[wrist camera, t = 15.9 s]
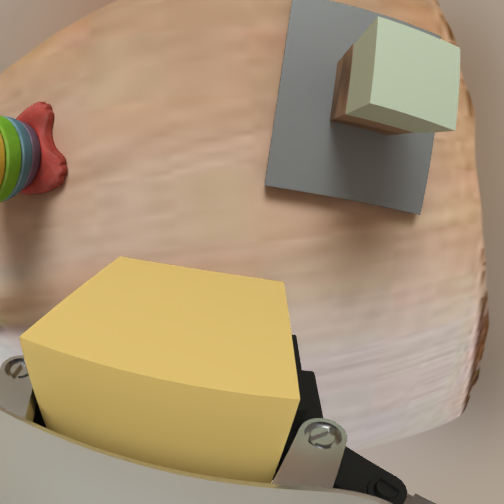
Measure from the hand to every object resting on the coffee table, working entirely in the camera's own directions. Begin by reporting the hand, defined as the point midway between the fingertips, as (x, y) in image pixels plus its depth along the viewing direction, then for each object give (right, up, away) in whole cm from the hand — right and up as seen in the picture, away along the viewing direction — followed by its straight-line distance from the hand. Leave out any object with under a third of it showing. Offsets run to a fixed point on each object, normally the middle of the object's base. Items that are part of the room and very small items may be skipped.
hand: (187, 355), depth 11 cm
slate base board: (+13, +19, +17) cm, 28 cm away
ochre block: (0, 0, +1) cm, 1 cm away
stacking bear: (-24, +15, +20) cm, 35 cm away
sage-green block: (+13, +16, +10) cm, 23 cm away
